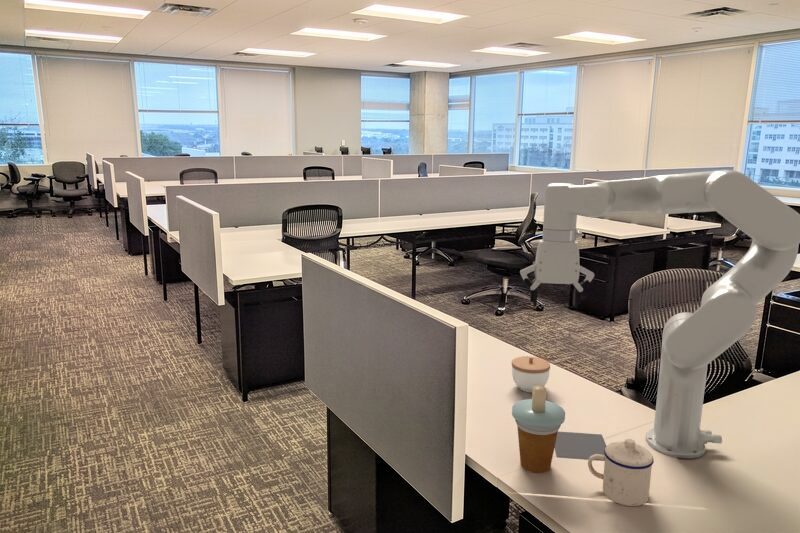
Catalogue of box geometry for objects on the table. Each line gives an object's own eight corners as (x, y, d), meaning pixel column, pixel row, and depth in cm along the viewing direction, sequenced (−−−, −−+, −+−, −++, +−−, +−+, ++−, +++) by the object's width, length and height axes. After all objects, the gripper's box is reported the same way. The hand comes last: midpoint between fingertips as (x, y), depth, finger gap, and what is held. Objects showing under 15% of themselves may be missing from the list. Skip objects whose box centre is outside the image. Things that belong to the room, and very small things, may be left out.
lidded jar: (503, 383, 169) (505, 352, 167) (536, 378, 172) (537, 349, 170) (522, 398, 159) (523, 366, 157) (556, 393, 162) (558, 362, 160)
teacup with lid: (650, 487, 117) (655, 435, 115) (649, 512, 109) (654, 457, 107) (588, 473, 122) (592, 423, 120) (583, 497, 114) (587, 443, 112)
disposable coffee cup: (559, 481, 119) (562, 428, 117) (512, 476, 121) (515, 423, 119) (556, 457, 129) (559, 407, 126) (513, 453, 130) (515, 403, 128)
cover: (560, 405, 127) (562, 379, 126) (568, 429, 117) (570, 400, 115) (510, 402, 128) (511, 376, 127) (513, 426, 118) (515, 398, 117)
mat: (601, 436, 138) (601, 434, 138) (612, 462, 126) (612, 461, 126) (550, 432, 140) (550, 430, 140) (556, 458, 128) (556, 456, 128)
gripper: (593, 234, 138) (588, 303, 142) (520, 232, 141) (517, 300, 144) (600, 239, 131) (594, 311, 134) (522, 237, 133) (519, 308, 137)
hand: (554, 305), depth 139 cm, fingers open, 9 cm apart
